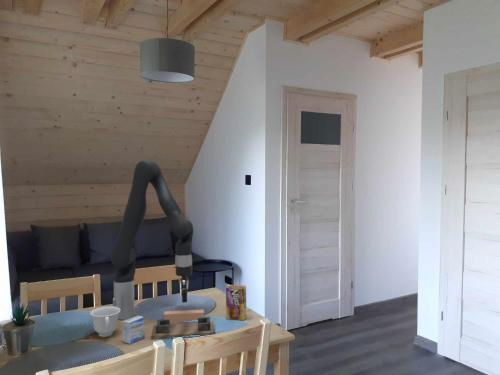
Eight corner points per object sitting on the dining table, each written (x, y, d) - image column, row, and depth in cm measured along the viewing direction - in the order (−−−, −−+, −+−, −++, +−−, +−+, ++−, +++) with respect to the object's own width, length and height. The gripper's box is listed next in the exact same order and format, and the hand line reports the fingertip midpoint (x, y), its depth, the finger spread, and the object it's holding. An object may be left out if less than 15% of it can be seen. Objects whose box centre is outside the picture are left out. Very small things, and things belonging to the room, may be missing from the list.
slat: (163, 324, 184) (163, 314, 184) (164, 321, 188) (164, 311, 188) (203, 322, 187) (203, 312, 187) (203, 319, 191) (203, 309, 191)
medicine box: (130, 344, 162) (129, 323, 162) (122, 342, 165) (122, 320, 164) (144, 337, 169) (144, 316, 169) (137, 335, 171) (137, 314, 171)
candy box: (246, 317, 192) (246, 285, 192) (244, 320, 188) (244, 287, 187) (228, 315, 194) (228, 284, 193) (225, 319, 190) (225, 286, 189)
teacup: (91, 345, 162) (91, 320, 161) (90, 331, 176) (89, 308, 175) (123, 339, 167) (122, 315, 166) (119, 327, 180) (119, 304, 180)
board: (151, 339, 167) (151, 328, 167) (153, 328, 179) (153, 318, 179) (215, 335, 171) (214, 325, 170) (213, 325, 183) (213, 315, 182)
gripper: (175, 261, 193) (176, 295, 194) (174, 268, 179) (175, 304, 180) (191, 260, 194) (192, 294, 195) (192, 267, 180) (193, 303, 181)
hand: (184, 299), depth 187 cm, fingers open, 8 cm apart
